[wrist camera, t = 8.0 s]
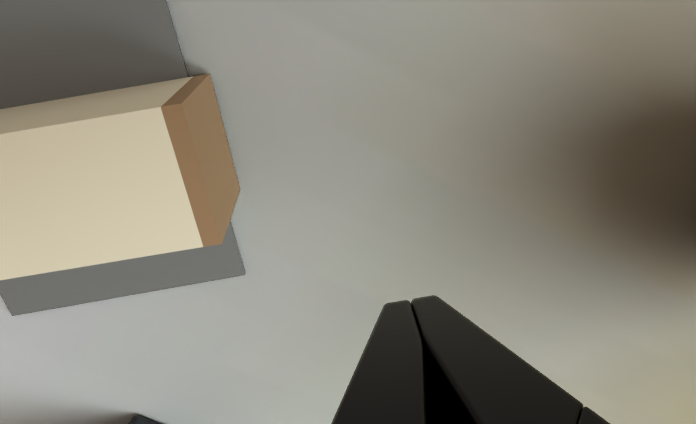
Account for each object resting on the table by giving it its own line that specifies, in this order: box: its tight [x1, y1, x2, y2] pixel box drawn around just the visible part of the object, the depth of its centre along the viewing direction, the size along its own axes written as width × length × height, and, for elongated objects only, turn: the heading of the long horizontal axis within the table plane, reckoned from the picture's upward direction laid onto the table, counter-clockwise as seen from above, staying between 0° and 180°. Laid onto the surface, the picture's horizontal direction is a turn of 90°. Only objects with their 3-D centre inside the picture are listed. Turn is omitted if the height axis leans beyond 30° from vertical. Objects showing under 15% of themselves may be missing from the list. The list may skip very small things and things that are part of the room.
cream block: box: [0, 74, 240, 280], centre depth 18 cm, size 4×4×9 cm
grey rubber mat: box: [0, 0, 245, 316], centre depth 21 cm, size 10×12×1 cm
